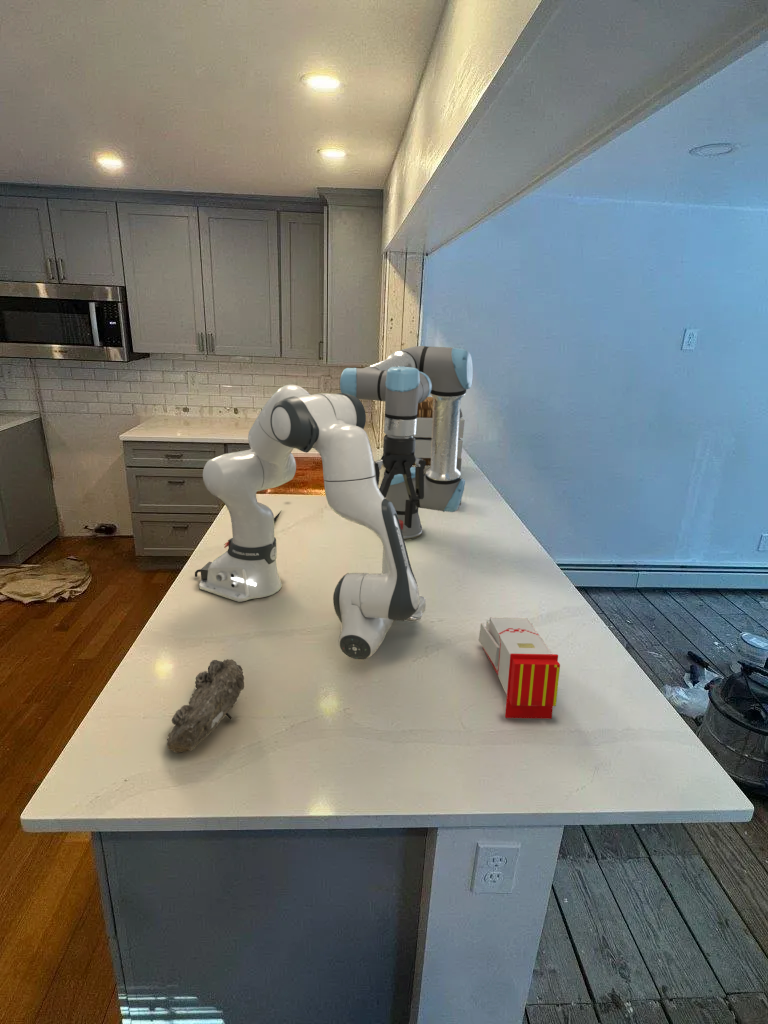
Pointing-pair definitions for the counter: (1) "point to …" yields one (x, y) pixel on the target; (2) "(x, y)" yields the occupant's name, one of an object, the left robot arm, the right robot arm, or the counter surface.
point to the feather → (276, 517)
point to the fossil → (206, 705)
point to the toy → (522, 666)
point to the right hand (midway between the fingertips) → (394, 527)
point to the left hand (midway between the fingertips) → (392, 587)
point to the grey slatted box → (425, 433)
